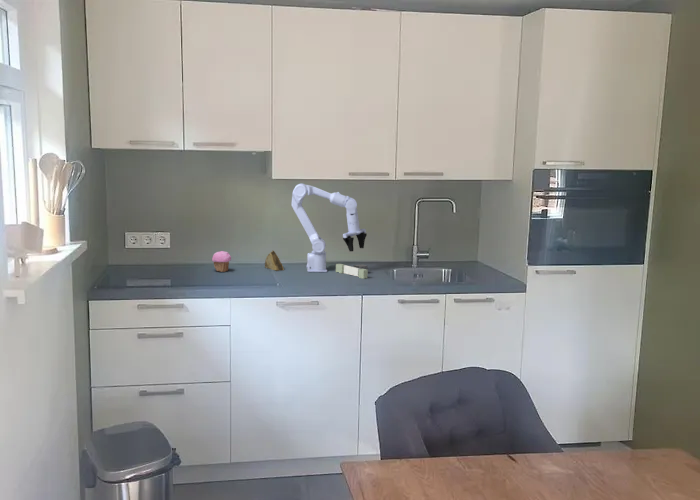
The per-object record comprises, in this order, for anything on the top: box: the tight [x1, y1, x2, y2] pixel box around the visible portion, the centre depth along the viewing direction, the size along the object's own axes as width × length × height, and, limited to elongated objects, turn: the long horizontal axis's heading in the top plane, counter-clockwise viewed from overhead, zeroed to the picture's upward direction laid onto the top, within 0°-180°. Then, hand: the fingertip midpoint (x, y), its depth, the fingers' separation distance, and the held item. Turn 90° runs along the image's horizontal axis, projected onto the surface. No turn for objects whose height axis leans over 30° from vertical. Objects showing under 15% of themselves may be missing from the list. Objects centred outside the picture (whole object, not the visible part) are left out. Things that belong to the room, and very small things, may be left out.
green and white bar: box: [335, 263, 369, 279], centre depth 315 cm, size 2×20×4 cm, turn 42°
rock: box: [264, 250, 285, 271], centre depth 326 cm, size 11×9×10 cm
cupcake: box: [211, 250, 232, 273], centre depth 315 cm, size 9×9×10 cm
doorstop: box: [353, 263, 369, 271], centre depth 320 cm, size 5×5×4 cm
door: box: [343, 264, 361, 277], centre depth 315 cm, size 1×11×4 cm, turn 42°
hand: (356, 249), depth 323 cm, fingers open, 7 cm apart
